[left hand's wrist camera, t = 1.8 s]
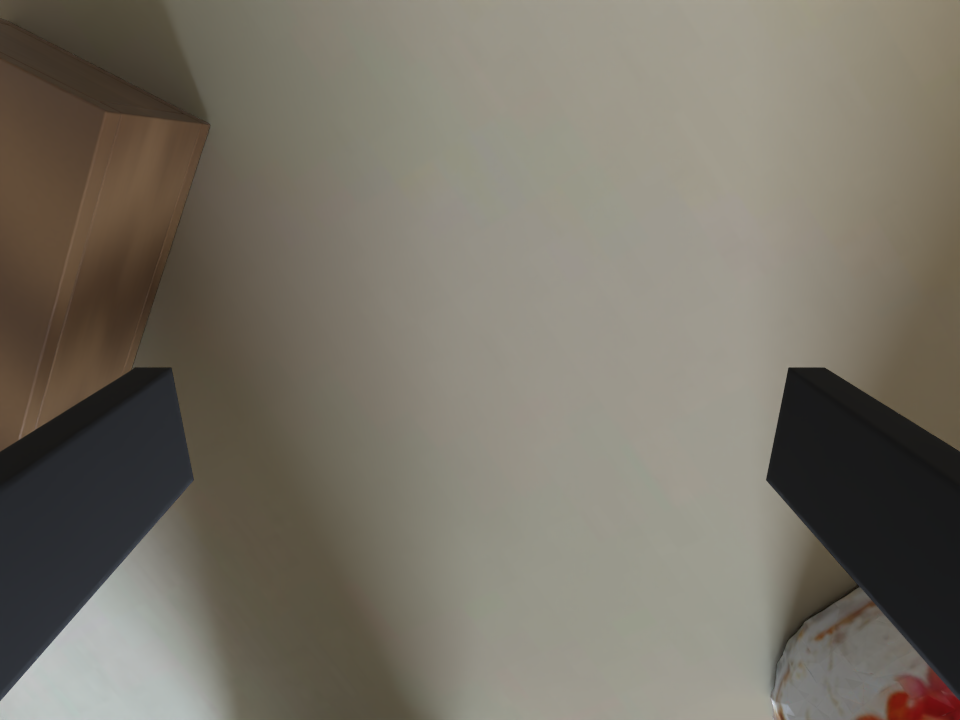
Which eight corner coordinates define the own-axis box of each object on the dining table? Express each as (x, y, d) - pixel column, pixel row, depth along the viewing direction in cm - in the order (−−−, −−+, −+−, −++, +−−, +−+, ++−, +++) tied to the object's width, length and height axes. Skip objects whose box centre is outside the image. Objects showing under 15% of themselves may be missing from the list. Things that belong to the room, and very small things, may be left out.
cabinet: (119, 406, 35) (7, 483, 27) (-58, 332, 34) (-235, 389, 25) (211, 124, 30) (106, 110, 22) (5, 19, 28) (-194, -40, 20)
